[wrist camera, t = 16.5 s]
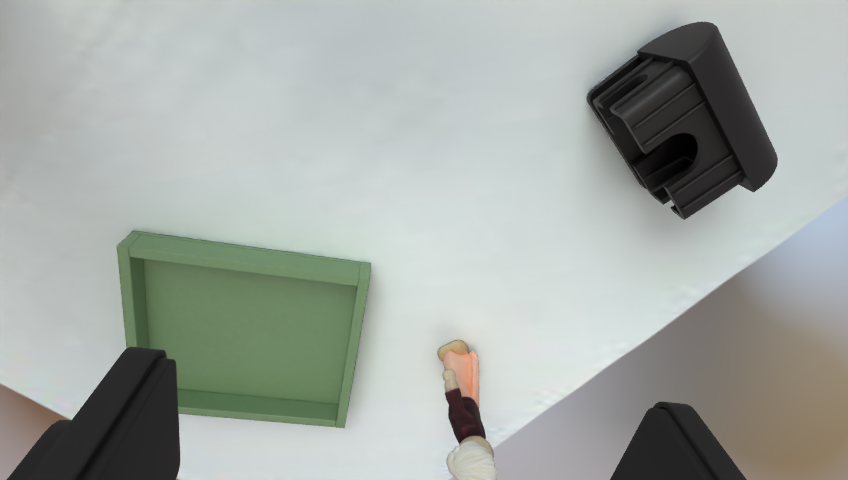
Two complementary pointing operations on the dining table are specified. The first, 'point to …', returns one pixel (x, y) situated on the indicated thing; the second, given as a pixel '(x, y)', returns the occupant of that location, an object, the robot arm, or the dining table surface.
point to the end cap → (685, 120)
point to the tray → (247, 325)
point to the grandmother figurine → (466, 414)
